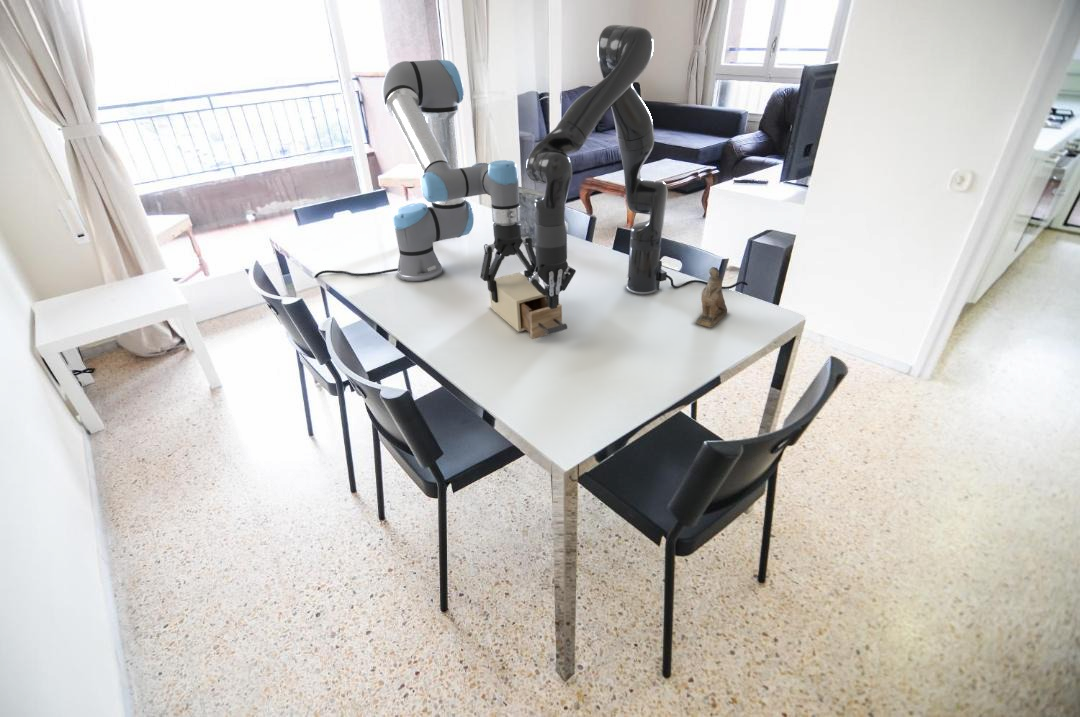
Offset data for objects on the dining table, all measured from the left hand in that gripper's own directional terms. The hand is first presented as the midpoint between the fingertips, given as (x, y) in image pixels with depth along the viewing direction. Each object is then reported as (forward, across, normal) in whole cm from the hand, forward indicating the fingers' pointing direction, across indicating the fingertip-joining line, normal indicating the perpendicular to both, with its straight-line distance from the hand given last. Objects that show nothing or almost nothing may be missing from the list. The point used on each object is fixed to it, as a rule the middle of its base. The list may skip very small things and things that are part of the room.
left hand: (511, 296), depth 147 cm
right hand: (-6, 0, -24) cm, 25 cm away
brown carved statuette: (+4, +44, -36) cm, 57 cm away
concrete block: (+4, +34, +50) cm, 61 cm away
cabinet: (+4, 0, -5) cm, 6 cm away
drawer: (+3, 0, -15) cm, 15 cm away
